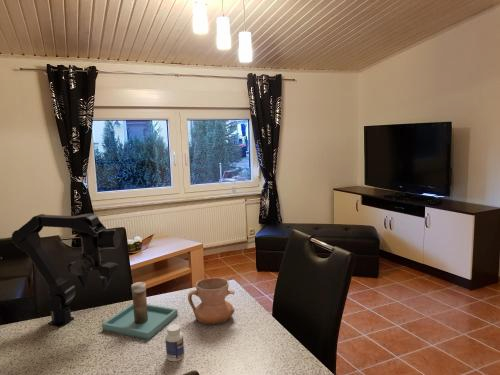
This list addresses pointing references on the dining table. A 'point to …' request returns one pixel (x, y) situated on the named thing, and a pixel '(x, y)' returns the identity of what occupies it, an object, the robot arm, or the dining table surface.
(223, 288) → the ceramic jug
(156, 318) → the tray
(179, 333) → the pill bottle
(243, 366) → the dining table surface
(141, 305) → the shaker
